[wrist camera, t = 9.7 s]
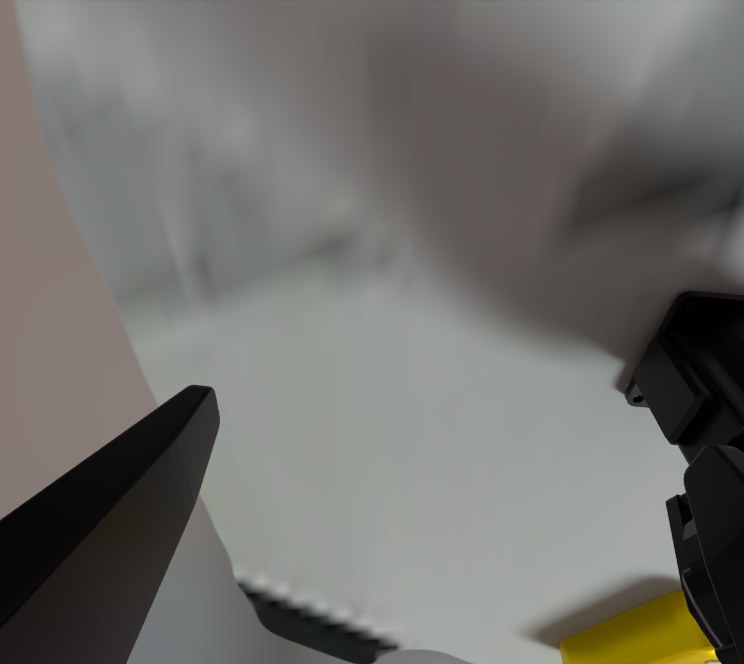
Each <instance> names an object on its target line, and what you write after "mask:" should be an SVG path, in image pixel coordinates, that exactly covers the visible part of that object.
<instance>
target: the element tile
mask: <svg viewBox="0 0 744 664" xmlns="http://www.w3.org/2000/svg"><path fill="white" fill-rule="evenodd" d="M559 647H560V652H561V657H562V662H563V664H721V662H720V661H719V660H718V659H717V657H716V655H715V648H714V647H713V646H712V645H711V643H710V642H709V641H708V639H707V638H706V636H705V635H704V633H703V632H702V630H701V629H700V627H699V626H698V624H697V622H696V620H695V619H694V618H693V617H692V615H691V614H690V612H689V610H688V607H687V602H686V599H685V596H684V593H683V591H677V592H672V593H669V594H666V595H663V596H661V597H658V598H656V599H654V600H652V601H650V602H647V603H645V604H643V605H641V606H638V607H636V608H634V609H632V610H629V611H627V612H625V613H623V614H620V615H618V616H616V617H614V618H611V619H609V620H607V621H605V622H602V623H600V624H598V625H596V626H593V627H591V628H589V629H587V630H584V631H582V632H580V633H578V634H575V635H573V636H571V637H569V638H566V639H565V640H563V641H561V643H560V644H559Z"/></svg>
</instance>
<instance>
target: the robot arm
mask: <svg viewBox="0 0 744 664" xmlns="http://www.w3.org/2000/svg"><path fill="white" fill-rule="evenodd" d="M691 301H693V302H692V304H690V305H688V306H685V305H686V304H687V303H689V302H691ZM638 395H639V396H638ZM635 396H637V397H635ZM625 398H626V400H627V402H628V404H630V405H631V406H637V407H647V408H650V410H651V412H652V414H653V415H654V417H655V419H656V421H657V423H658V425H659V426H660V428H661V430H662V432H663V434H664V436H665V437H666V439H667V440H668V442H669V443H670V444H672V445H678V446H679V448H680V450H681V452H682V453H683V455H684V457H685V459H686V461H687V462H688V464H689V467H688V468H687V469H686V471H685V473H684V486H685V490H686V493H684V494H682V495H678V494H677V495H676V496H674V497H672V498H670V499H669V500H667V501H666V507H667V512H668V517H669V522H670V528H671V533H672V538H673V543H674V549H675V554H676V559H677V564H678V569H679V575H680V580H681V585H682V589H683V593H684V596H685V599H686V602H687V607H688V610H689V612H690V614H691V615H692V617H693V618H694V619H695V620H696V622H697V624H698V626H699V627H700V629H701V630H702V632H703V633H704V635H705V636H706V638H707V639H708V641H709V642H710V643H711V645H712V646H713V647H714V648H715V655H716V657H717V659H718V660H719V661H720V662H721V664H744V296H741V295H730V294H719V293H708V292H698V291H687V292H684V293H682V294H681V295H679V296H678V297H677V298H676V299H675V301H674V303H673V305H672V307H671V308H670V310H669V312H668V314H667V316H666V318H665V320H664V321H663V323H662V325H661V327H660V329H659V331H658V333H657V334H656V335H655V336H654V337H653V339H652V341H651V343H650V345H649V346H648V348H647V350H646V352H645V354H644V356H643V358H642V359H641V361H640V363H639V365H638V367H637V369H636V371H635V372H634V374H633V379H632V381H631V382H630V384H629V386H628V388H627V390H626V392H625ZM219 425H220V415H219V410H218V405H217V399H216V394H215V391H214V389H213V388H212V387H209V386H201V385H190V386H188V387H186V388H185V389H183V390H182V391H181V392H179V393H178V394H176V395H175V396H174V397H172V398H171V399H169V400H168V401H167V402H165V403H164V404H162V405H161V406H160V407H158V408H157V409H155V410H154V411H153V412H151V413H150V414H148V415H147V416H146V417H144V418H143V419H141V420H140V421H138V422H137V423H136V424H134V425H133V426H131V427H130V428H129V429H127V430H126V431H124V432H123V433H122V434H120V435H119V436H117V437H116V438H115V439H113V440H112V441H111V442H109V443H108V444H106V445H105V446H103V447H102V448H101V449H99V450H98V451H96V452H95V453H94V454H92V455H91V456H89V457H88V458H86V459H85V460H84V461H82V462H81V463H80V464H78V465H77V466H75V467H74V468H73V469H71V470H70V471H68V472H67V473H65V474H64V475H63V476H62V477H60V478H58V479H57V480H56V481H54V482H53V483H52V484H50V485H49V486H47V487H46V488H44V489H43V490H42V491H40V492H39V493H37V494H36V495H34V496H33V497H32V498H30V499H29V500H27V501H26V502H25V503H23V504H22V505H20V506H19V507H18V508H16V509H15V510H13V511H12V512H11V513H9V514H8V515H6V516H5V517H4V518H2V519H1V520H0V664H126V663H127V660H128V658H129V656H130V654H131V651H132V649H133V647H134V644H135V642H136V640H137V638H138V635H139V633H140V630H141V628H142V626H143V624H144V621H145V619H146V617H147V614H148V612H149V610H150V608H151V605H152V603H153V601H154V599H155V596H156V594H157V591H158V589H159V587H160V585H161V582H162V580H163V578H164V576H165V573H166V571H167V569H168V566H169V564H170V562H171V559H172V557H173V555H174V552H175V550H176V548H177V545H178V543H179V541H180V539H181V536H182V534H183V532H184V530H185V527H186V525H187V522H188V520H189V518H190V516H191V513H192V511H193V508H194V506H195V503H196V500H197V497H198V494H199V491H200V488H201V485H202V481H203V478H204V475H205V472H206V468H207V465H208V462H209V459H210V455H211V452H212V449H213V446H214V442H215V439H216V436H217V433H218V429H219Z"/></svg>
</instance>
